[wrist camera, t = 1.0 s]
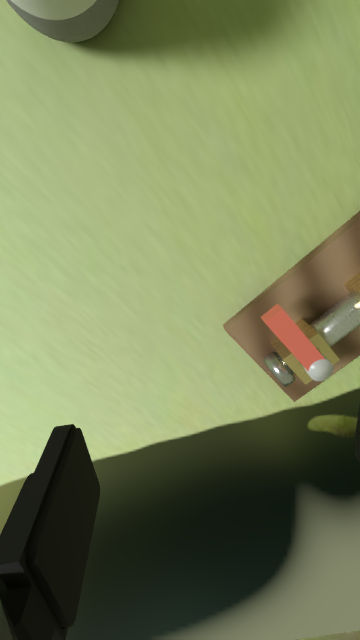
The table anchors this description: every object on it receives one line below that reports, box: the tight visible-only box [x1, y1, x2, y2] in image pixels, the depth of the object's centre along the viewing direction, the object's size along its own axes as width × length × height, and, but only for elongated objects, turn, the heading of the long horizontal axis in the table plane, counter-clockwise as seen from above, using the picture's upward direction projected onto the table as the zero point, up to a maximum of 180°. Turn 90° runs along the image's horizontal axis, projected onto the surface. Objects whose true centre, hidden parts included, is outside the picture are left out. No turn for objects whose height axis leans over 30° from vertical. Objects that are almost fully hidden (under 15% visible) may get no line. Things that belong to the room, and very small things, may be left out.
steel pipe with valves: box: [263, 272, 360, 387], centre depth 33 cm, size 18×4×4 cm, turn 133°
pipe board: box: [223, 211, 360, 402], centre depth 35 cm, size 20×14×2 cm
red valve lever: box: [261, 304, 334, 381], centre depth 30 cm, size 9×2×2 cm, turn 43°
